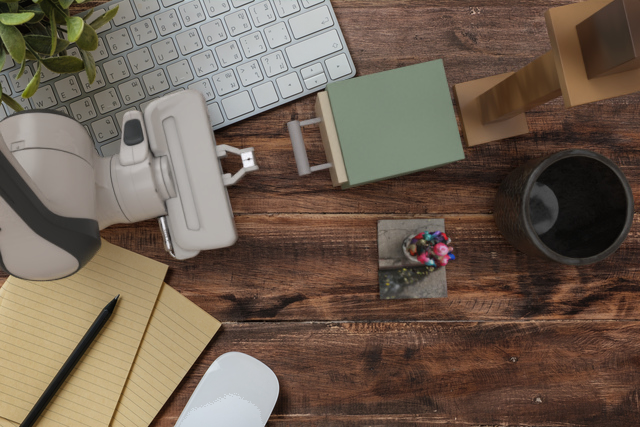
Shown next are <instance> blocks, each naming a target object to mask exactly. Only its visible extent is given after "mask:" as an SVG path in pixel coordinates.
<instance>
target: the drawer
mask: <svg viewBox="0 0 640 427" xmlns="http://www.w3.org/2000/svg"><path fill="white" fill-rule="evenodd" d="M316 94H317V95H316V98H315V104H314V112H315V116H316V117H315V118H310V119H305V120H301V121H300V120H295V119H294V120H290V121H288V122H286V128H287V130H288V135H289V138H290V143H291V147H292V148H291V149H292V152H293V155H294V160H295V164H296V169H297V174H298V176H299V177H303V176H308V175H311V174H312V172H318V171H322V170H325V169H328V171H329V175H330V179H331V184H332V187H333V188H335V187H341V185H342V184H344V183H346V182H347V181H348V178H347V174H346V170H345V165H344V161H343V157H342V153H341V148H340V144H339V140H338V136H337V131H336V127H335V123H334V118H333V114H332V110H331V106H330V101H329V97H328V93H327V91H325V90H324V91H323V90H322V91H318V92H317V93H316ZM315 124H317V125H318V129H319V134H320V138H321V142H322V146H323V150H324V154H325V159H326V163H322V164H318V165H313V166H310V162H309V158H308V154H307V150H306V146H305V140H304V137H303V133H302V132H303V131H302V128H303V127H306V126H307V127H308V126H311V125H315Z"/></svg>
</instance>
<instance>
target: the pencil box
mask: <svg viewBox="0 0 640 427" xmlns="http://www.w3.org/2000/svg"><path fill="white" fill-rule="evenodd" d="M576 30H577V35H578V39H579V43H580V48H581V52H582V56H583V61H584V65H585V69H586V74H587V78H588V80H590V79H594V78H598V77H603V76H607V75H612V74H616V73H620V72H625V71H629V70H634V69H638V68H640V0H613V1H612V2H610V3H609V4H607V5H606V6H604V7H603V8H601V9H600V10H598V11H597V12H595V13H594V14H592V15H591V16H589V17H588V18H586V19H585V20H583V21H582V22H580V23H579V24H577V25H576Z"/></svg>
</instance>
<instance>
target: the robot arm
mask: <svg viewBox="0 0 640 427" xmlns="http://www.w3.org/2000/svg"><path fill="white" fill-rule="evenodd" d="M121 124H122V126H121V127H122V128H121V137H120V147H119V153H114V154H112V155H109V156H101V155H100V154H99V153H98V152H97V149H96V144H95V141H94V140H93V139H92V136H91V134H90V133H89V131H88V130H87V128H86V127H85V125H84V124H82V122H80V121H79V120H78V119H77V118H75V117H74V116H72V115H70V114H68V113H66V112H65V111H61V110H57V109H53V108H28V109H23V110H20V111H16V112H14V113H11V114H9V115H7V116H5V117H4V118H2V119H1V120H0V270H1V271H3V272H4V273H5V274H7V275H10V276H11V277H13V278H16V279H18V280H23V281H29V282H54V281H59V280H63V279H67V278H69V277H71V276H74V275H75V274H77V273H78V272H79V271H81V270H82V269H83V268H84V267H85V266H86V265H88V263H89V262H90V261H92V259H93V258H94V257H95V256H96V255H97V253H98V252H99V251H100V250H101V248H102V237H101V231H102V230H103V231H104V230H105V229H106V228H108V227H111V226H112V225H117V224H134V223H138V222H143V221H147V220H152V219H155V218H156V219H157V223H158V228H159V231H160V234H161V236H162V240H163V242H162V245H163V247H164V248H163V249H164V250H165V252H168V253H169V255H170V256H171V257H172V258H173V259H175V260H177V261H184V260H188V259H193V258H196V257H197V256H199V254H201V252H202V251H208V250H216V249H222V248H228V247H231V246H234V245H235V244H236V242H237V241H238V240H239V232H238V229H237V225H236V224H237V223H236V220H235V216H234V212H233V208H232V204H231V200H230V199H231V198H230V195H229V191H228V187H231V186H235V185H237V184H238V183H239V182H240V181H241V180H242V179H243V178H244V177H245V176H247V174H250V173H254V172H257V171H260V167H259V164H258V159H257V155H256V150H255V147H254V146H250V147H244V148H241V149H240V148H237V147H235V146H231V145H228V144H225V143H222V144H217V140H216V137H215V132H214V127H213V124H212V120H211V116H210V112H209V108H208V102H207V99H206V97H205V96H204V94H203V93H202V92H201V91H199V90H197V89H194V88H187V89H183V90H179V91H174V92H172V93H169V94H166V95H163V96H160V97H158V98H155V99H154V100H152V101H150V102H149V103H148V104H147V105H146V106H145V108H144V111H140V110H137V109H133V110H128V111H126V112H124V114H123V117H122V123H121ZM229 154H230V155H231V154H232V155H235V156H237V157H241V162H242V166H243V167H241V168H240V169H239V170H238V171H237V172H236V173H235V174H234V175H233V174H232V173H231V172H227V173H224V171H223V170H224V169H223V166H222V162H221V159H226V158H228V157H229Z"/></svg>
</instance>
